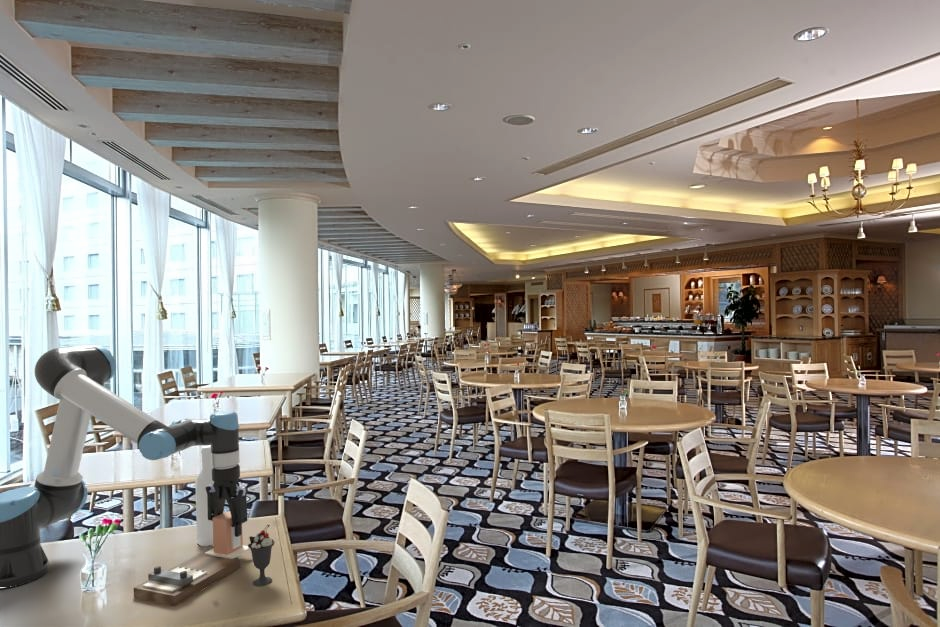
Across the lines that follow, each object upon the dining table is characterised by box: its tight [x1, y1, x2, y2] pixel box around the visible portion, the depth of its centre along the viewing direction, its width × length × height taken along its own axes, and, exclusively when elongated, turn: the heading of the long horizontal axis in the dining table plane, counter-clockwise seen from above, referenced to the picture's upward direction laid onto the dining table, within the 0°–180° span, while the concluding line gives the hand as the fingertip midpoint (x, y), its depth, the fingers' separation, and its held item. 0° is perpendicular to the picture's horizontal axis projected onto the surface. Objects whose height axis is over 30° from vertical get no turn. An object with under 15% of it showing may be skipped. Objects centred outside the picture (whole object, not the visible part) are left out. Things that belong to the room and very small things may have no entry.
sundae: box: [247, 524, 275, 587], centre depth 153 cm, size 7×7×15 cm
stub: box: [204, 510, 251, 559], centre depth 167 cm, size 10×8×10 cm
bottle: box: [194, 445, 225, 547], centre depth 181 cm, size 8×8×30 cm
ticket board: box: [133, 552, 242, 607], centre depth 154 cm, size 14×22×6 cm, turn 159°
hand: (228, 545), depth 167 cm, fingers closed on stub, 5 cm apart
